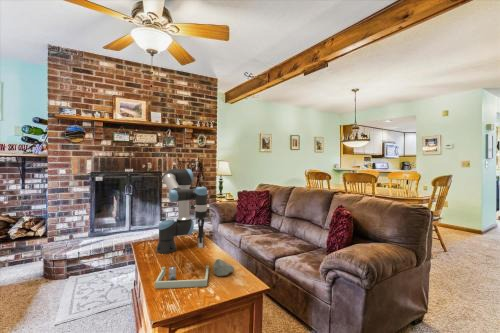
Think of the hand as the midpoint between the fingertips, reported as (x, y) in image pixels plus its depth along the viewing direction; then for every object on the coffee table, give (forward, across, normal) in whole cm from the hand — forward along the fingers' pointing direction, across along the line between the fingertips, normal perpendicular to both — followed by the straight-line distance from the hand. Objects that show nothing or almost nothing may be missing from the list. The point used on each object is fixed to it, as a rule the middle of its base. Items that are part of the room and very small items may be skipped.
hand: (200, 246), depth 163 cm
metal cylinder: (+15, +12, -16) cm, 25 cm away
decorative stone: (+16, +8, +15) cm, 23 cm away
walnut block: (0, 0, 0) cm, 0 cm away
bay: (+15, +14, -9) cm, 23 cm away
